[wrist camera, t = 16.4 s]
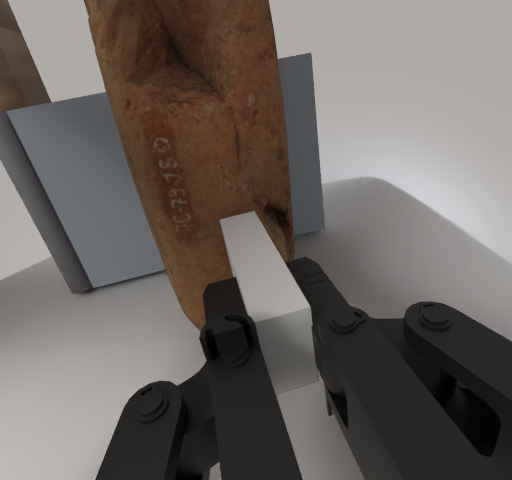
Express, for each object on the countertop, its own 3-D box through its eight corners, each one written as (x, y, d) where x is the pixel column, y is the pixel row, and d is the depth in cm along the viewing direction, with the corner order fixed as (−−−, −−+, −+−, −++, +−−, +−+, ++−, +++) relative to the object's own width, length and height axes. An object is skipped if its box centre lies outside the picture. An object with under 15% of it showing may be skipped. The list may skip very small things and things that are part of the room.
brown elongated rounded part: (193, 266, 27) (97, -47, 18) (282, 247, 27) (235, -72, 18) (184, 374, 18) (-35, -182, 8) (322, 343, 18) (267, -230, 8)
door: (68, 295, 25) (-29, 118, 19) (79, 272, 28) (-2, 112, 22) (325, 229, 28) (312, 52, 22) (310, 214, 31) (295, 55, 25)
